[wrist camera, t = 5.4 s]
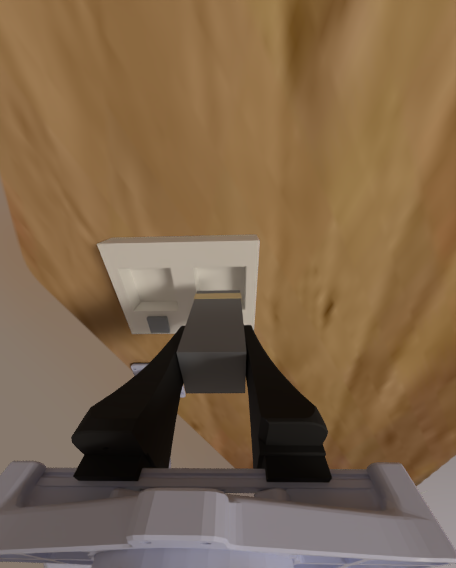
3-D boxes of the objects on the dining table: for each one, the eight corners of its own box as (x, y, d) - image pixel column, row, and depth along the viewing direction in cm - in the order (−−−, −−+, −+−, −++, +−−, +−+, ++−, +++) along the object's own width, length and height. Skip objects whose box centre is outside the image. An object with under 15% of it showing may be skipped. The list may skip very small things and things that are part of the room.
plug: (240, 323, 18) (245, 393, 12) (200, 324, 18) (185, 393, 12) (240, 289, 16) (247, 351, 10) (196, 290, 16) (175, 351, 10)
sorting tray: (251, 319, 24) (254, 334, 22) (140, 321, 25) (130, 336, 22) (256, 234, 19) (260, 241, 16) (112, 237, 19) (93, 244, 16)
